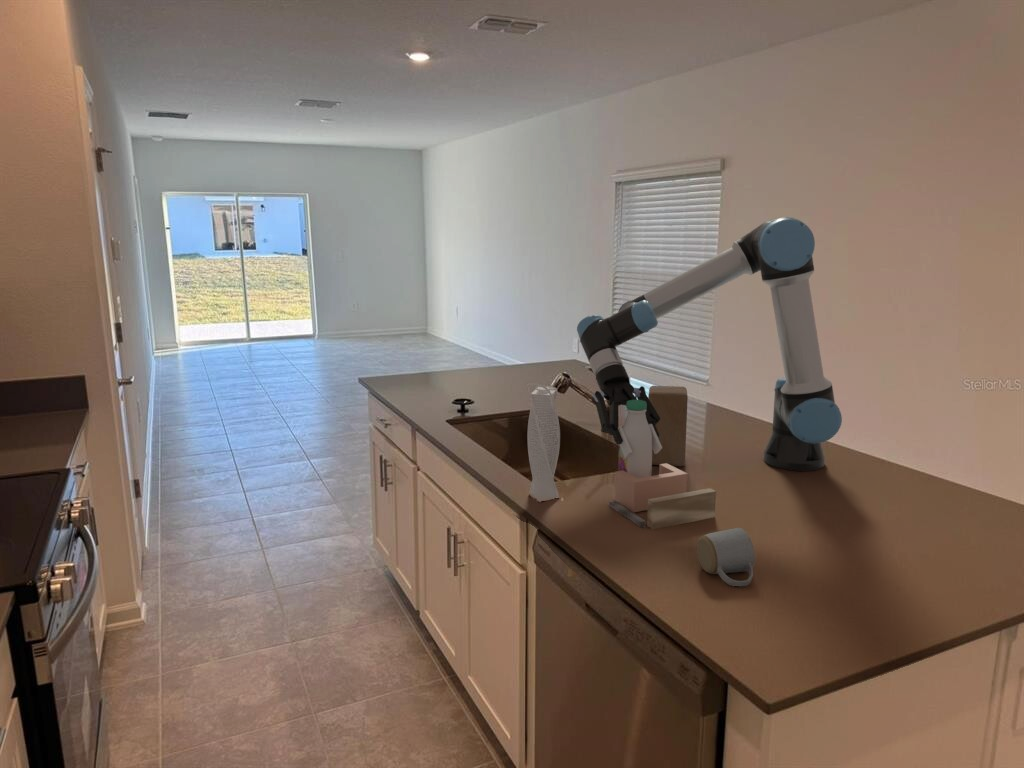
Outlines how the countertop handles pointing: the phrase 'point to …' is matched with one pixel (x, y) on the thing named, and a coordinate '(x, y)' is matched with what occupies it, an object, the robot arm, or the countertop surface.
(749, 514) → the countertop surface
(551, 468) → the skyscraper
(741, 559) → the ceramic mug
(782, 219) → the robot arm
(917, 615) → the countertop surface
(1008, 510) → the countertop surface
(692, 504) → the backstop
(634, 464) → the milk bottle
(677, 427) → the block
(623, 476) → the cradle
